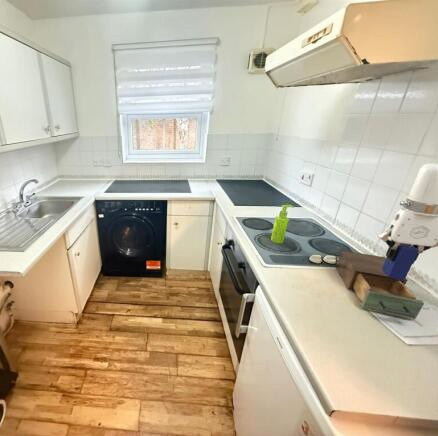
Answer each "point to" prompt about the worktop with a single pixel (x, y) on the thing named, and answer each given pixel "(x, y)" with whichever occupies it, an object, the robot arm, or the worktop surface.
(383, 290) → the drawer
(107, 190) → the worktop surface
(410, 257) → the box
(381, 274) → the cabinet
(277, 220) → the soap dispenser
